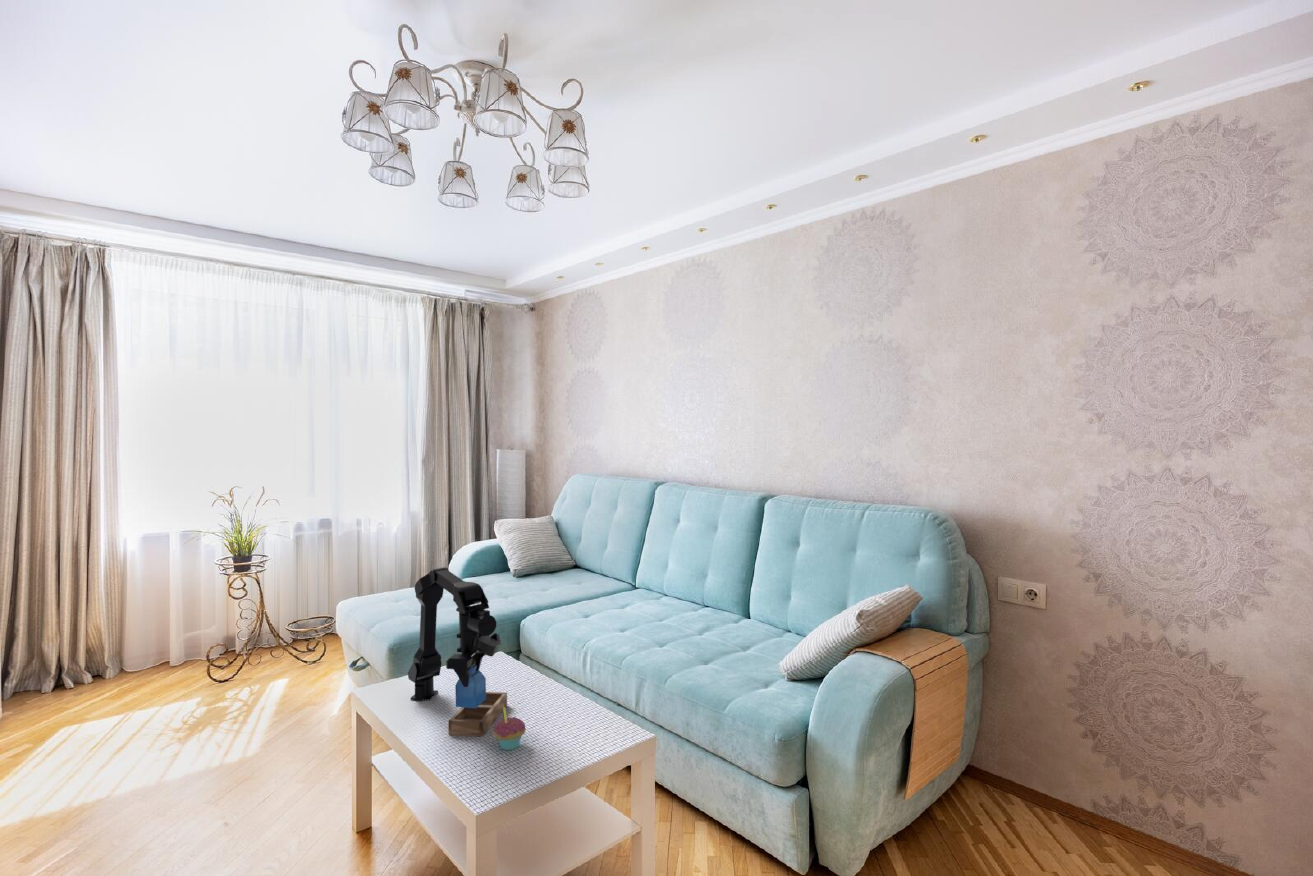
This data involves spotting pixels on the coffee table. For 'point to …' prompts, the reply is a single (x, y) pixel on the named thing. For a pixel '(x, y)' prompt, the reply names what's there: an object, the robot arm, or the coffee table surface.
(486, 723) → the wooden divided tray
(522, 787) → the coffee table surface
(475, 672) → the perfume bottle
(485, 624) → the robot arm
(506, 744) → the cupcake
